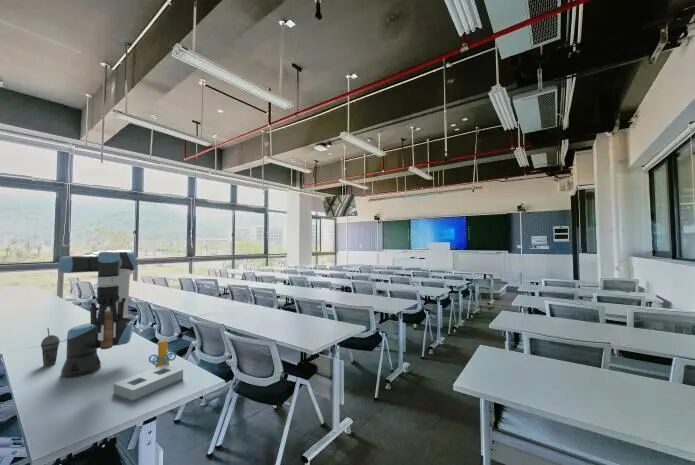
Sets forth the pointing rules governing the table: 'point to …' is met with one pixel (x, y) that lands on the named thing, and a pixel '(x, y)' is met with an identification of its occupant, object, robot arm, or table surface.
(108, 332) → the pin
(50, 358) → the beverage cup
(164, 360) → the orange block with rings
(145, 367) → the table surface
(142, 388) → the hole block
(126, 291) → the robot arm
